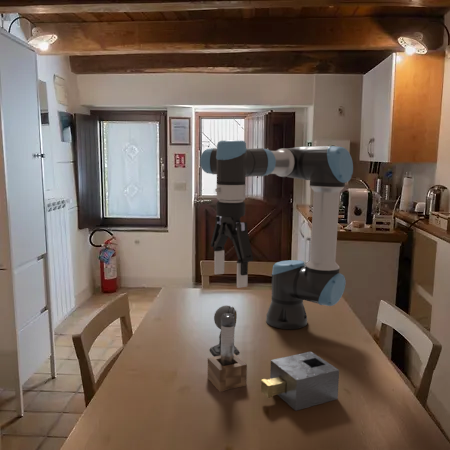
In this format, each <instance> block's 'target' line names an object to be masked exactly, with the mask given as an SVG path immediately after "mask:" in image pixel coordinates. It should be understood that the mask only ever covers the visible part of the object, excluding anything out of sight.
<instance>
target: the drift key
mask: <svg viewBox="0 0 450 450" xmlns="http://www.w3.org/2000/svg"><path fill="white" fill-rule="evenodd" d="M260 383H261V384H260V392H261V393H262V394H263V395H264V396H265V397H266V398H267V399H270V398H273V397H274V396H276V395H277V394H281V393H285V392H286V389H287V382H286V381H285V380H284V379H283V378H281V377H277V378H272V379H270V378H268V379H266V378H263V379H261V382H260ZM277 396H278V395H277Z"/></svg>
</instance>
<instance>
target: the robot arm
mask: <svg viewBox="0 0 450 450" xmlns="http://www.w3.org/2000/svg"><path fill="white" fill-rule="evenodd" d="M353 163H354V162H353V159H352V156H351V154H350V152H349V150H348V149H347V148H345V147H343V146H335V145H329V146H327V145H321V146H320V145H317V146H315V145H313V146H309V145H304V146H297V147H296V146H295V147H290V148H284V147H283V148H278V149H276V150H271V149H268V148H263V147H258V148H253V147H252V148H247V143H246V141H244V140H240V139H239V140H238V139H237V140H234V139H233V140H230V139H229V140H220V141H218V142H217V144H216V147H213V148H206V149H204V150H203V152H202V153H201V155H200V167H201V170H202V171H203V172H204V173H206V174H210V175H216V188H215V192H216V200H218V201H217V202H216V204H215V205H216V206H215V207H216V209H215V213H216V216H215V221H214V227H213V231H212V232H213V233H212V235H211V236H212V237H211V241H210V247H211V248H212V250H213V251H214V254H213V255H214V257H213V258H214V259H213V260H214V264H213V265H214V266H213V267H214V269H213V270H214V275H223V274H225V245H226V243H227V242H228V241H227V240H228V238H229V240H230V241H231V242H232V245H233V247H234V250H235V254H236V256H237V260H236V288H238V289H240V288H245V287H246V288H247V287H248V277H249V276H248V275H249V274H248V273H249V272H248V271H249V262H253V261H254V257H253V255H254V254H253V251H252V246H251V241H250V237H249V233H248V231H249V230H248V222H246V221H244V222H241V218H242V217H244V216H245V215H246V202H245V200H246V194H247V193H246V187H247V185H246V183H247V182H246V181H247V180H246V178H247V177H261V178H262V177H265V176H268V175H275V176H278V177H281V178H286V177H287V178H291V179H298V180H302V181H309V187H310V189H311V190H312V191H313V200H312V217H311V219H312V220H311V233H310V234H311V237H310V238H311V239H310V254H309V255H310V256H309V257H310V258H309V261H307V262H306V263H305V261H303V260H298V259H293V260H292V259H291V260H290V259H289V260H281V261H277V262H275V263H274V264H273V265H272V272H271V302H270V304H269V307H268V310H267V313H266V316H265V317H266V318H265V319H266V324H267V325H268V326H271V327H273V328H277V329H280V330H281V329H282V330H299V329H302V328H304V327H306V326H307V325H308V315H307V312H306V309H305V305H304V301H305V302H306V301H307V302H311V303H314V304H317V305H320V306H327V307H332V306H335V305H336V304H337V303H339V301H340V300H341V298H342V296H343V294H344V292H345V288H346V282H347V281H346V278H345V275H344V274H342V273H340V267H341V266H339V264H338V263H337V261H336V257H337V244H338V241H337V240H338V239H337V238H338V227H339V225H338V224H339V223H338V222H339V213H340V212H339V210H340V193H341V191H342V190H343V189H344V188H345V187H346V186H345V185H346V183H348V182H350V180H351V179H352V176H353V174H354V164H353Z"/></svg>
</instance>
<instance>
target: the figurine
mask: <svg viewBox="0 0 450 450" xmlns="http://www.w3.org/2000/svg"><path fill="white" fill-rule="evenodd" d="M222 314H233V315H235V327H236V324H237V318H238V317H237V310H236V309H235V307H233V306H232V307H231V305H222V306H220V307H218V308H217V310H216V311H215V312H214V314H213V315H214V316H213V319H214V320H213V321H214V324H215V326H216V327H217V328H218V329H219V330H221V315H222ZM218 339H219V343H218V344H216V345H214V346H211V347H210V348H209V352H210V354H211V355H212V357H215V356H220V355H221V331H220V332H219V336H218ZM234 354H235V355H237V356H238V354H240V351H239V349H238V348H237V347H236V346H235V345H234Z"/></svg>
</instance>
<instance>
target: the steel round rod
mask: <svg viewBox="0 0 450 450" xmlns="http://www.w3.org/2000/svg"><path fill="white" fill-rule="evenodd" d="M235 327H236V326H235V315H233V314H222V315H221V329H220V332H221V365H222V366H227V365H232V364H234V346H235Z"/></svg>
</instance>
